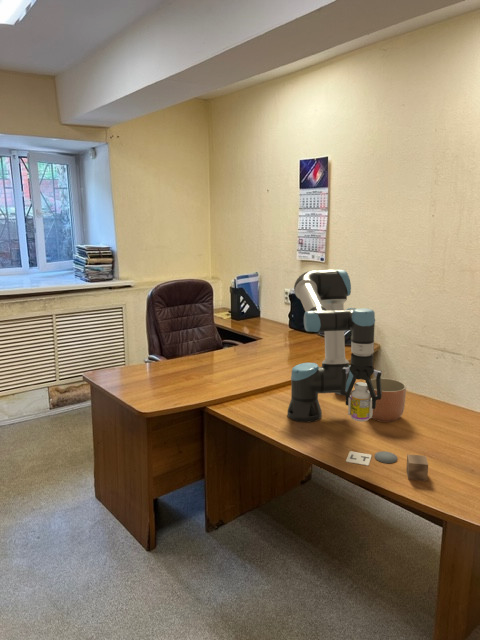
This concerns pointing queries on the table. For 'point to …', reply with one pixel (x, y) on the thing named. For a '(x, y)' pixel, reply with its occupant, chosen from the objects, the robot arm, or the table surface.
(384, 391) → the planter
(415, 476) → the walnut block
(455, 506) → the table surface
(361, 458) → the tile
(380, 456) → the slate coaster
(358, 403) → the supplement bottle
